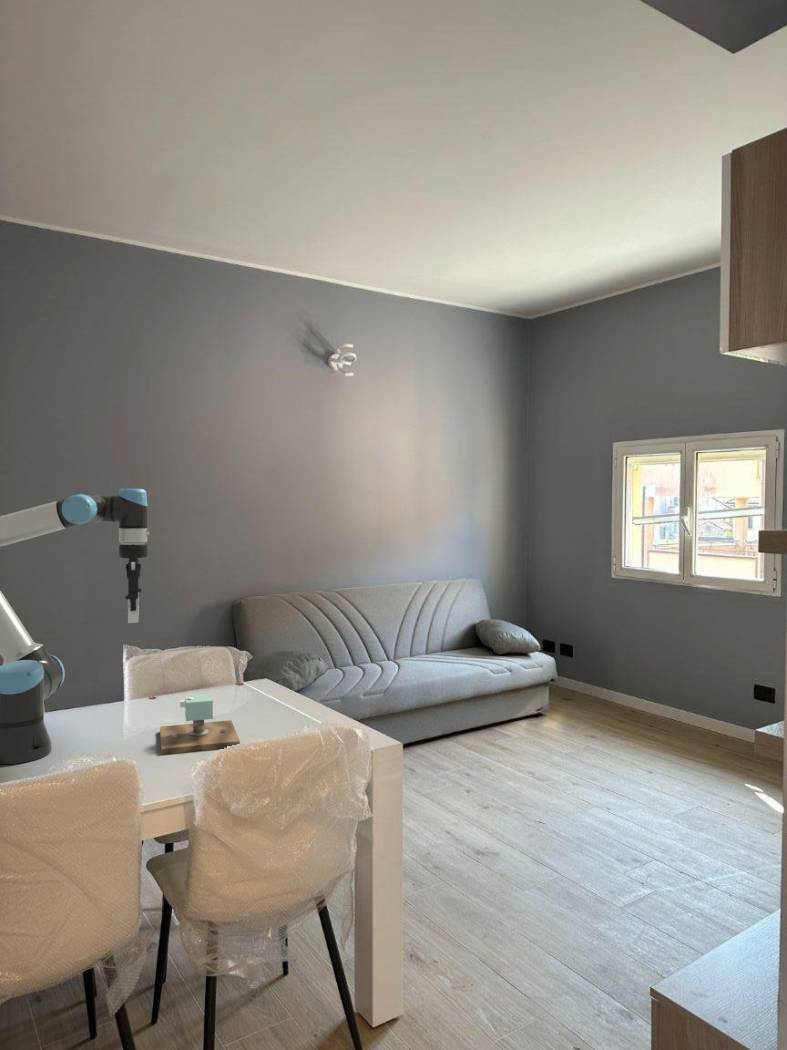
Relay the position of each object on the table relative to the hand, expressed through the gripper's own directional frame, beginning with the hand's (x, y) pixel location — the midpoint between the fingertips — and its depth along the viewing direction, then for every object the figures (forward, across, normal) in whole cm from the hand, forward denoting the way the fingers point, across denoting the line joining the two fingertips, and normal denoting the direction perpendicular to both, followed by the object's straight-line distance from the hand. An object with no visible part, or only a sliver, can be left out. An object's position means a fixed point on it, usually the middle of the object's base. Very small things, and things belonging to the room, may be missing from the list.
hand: (133, 619), depth 204 cm
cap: (+26, -10, -16) cm, 33 cm away
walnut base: (+33, -10, -17) cm, 38 cm away
